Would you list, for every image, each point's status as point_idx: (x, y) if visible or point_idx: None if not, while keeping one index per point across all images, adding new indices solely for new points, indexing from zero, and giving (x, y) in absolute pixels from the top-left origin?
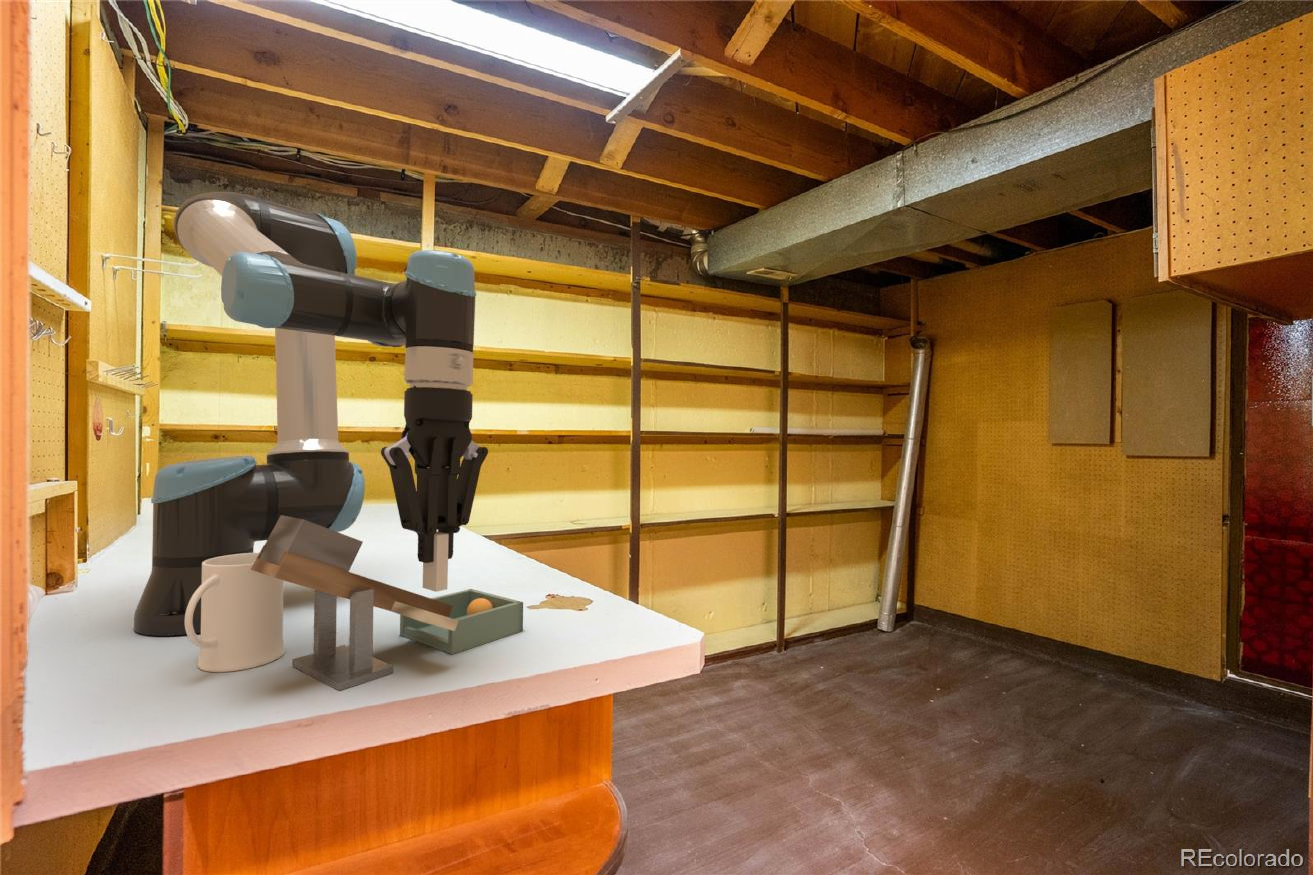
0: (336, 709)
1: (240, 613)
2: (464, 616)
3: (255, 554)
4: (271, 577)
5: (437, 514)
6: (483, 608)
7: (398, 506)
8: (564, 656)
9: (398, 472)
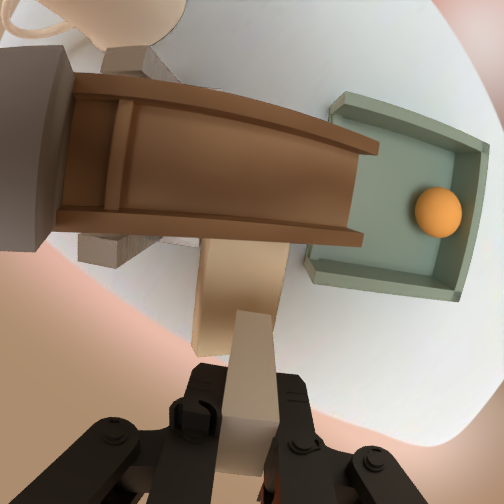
0: (98, 277)
1: (66, 19)
2: (352, 276)
3: None
4: None
5: (275, 497)
6: (434, 233)
7: (38, 484)
8: (361, 394)
9: None
